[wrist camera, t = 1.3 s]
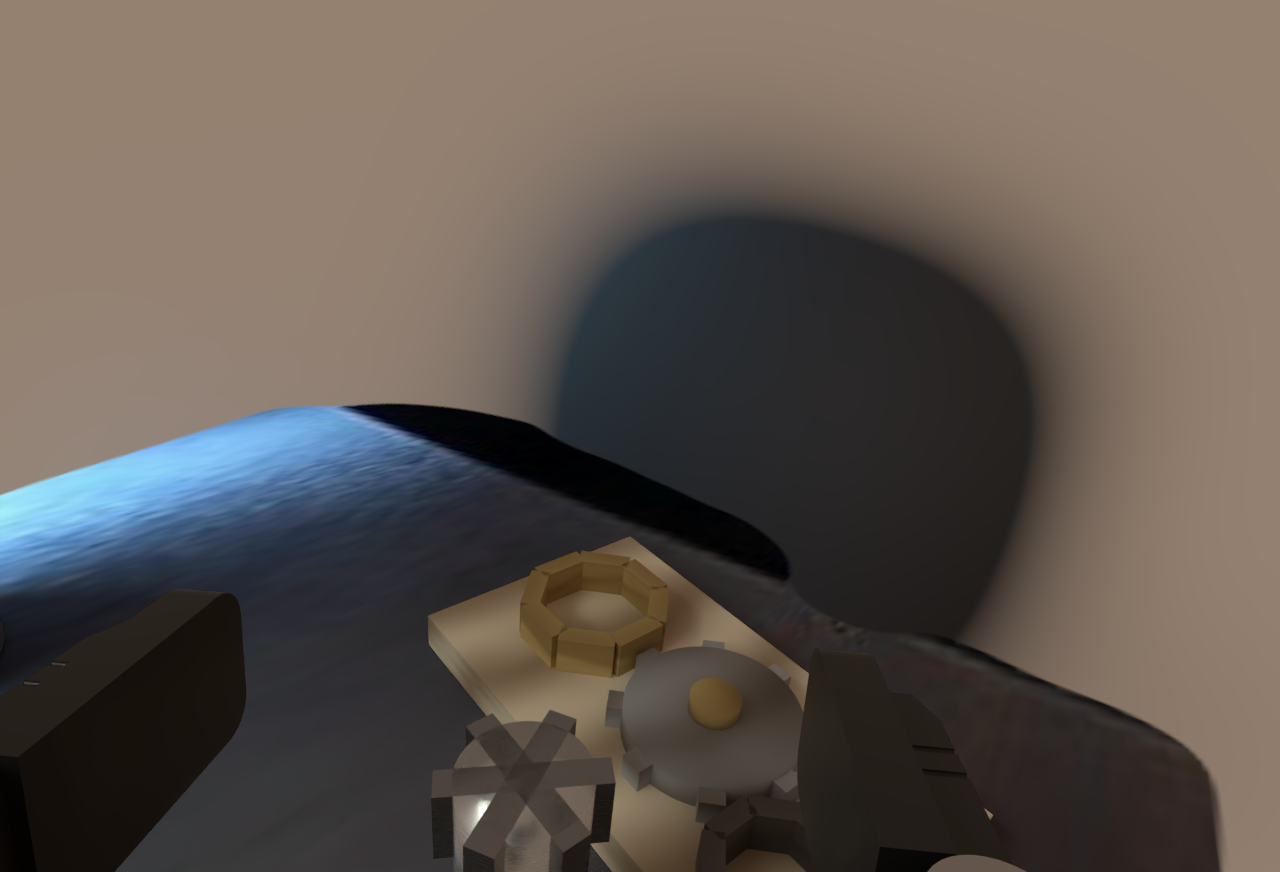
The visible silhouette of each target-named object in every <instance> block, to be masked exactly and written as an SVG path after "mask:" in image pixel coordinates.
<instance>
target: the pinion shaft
mask: <svg viewBox="0 0 1280 872" xmlns="http://www.w3.org/2000/svg"><path fill="white" fill-rule="evenodd" d="M576 720H577V719H575V718H572V717H569V716H567V715H564V714H561V713H558V712H555V711H553V710H549V711H548V713H547V715H546V716H545V718H544V719H543V721H542V722H536V721H519V722H512V723H507V724H503V725H502V724H501V723H500V721H499V720H498V719H497V718H496V716H495V715H494V714H493V713H492V714H490V715H488V716H486V717H484V718H482V719H480V720H478V721H476V722H474V723H472V724H470V725H468V726H466V748H465V749H464V750H463V752H462V753H461V755H460V756H459V758H458V759H457V762H456V764H455V766H454V769H444V770H433V779H432V793H431V807H432V833H433V859H437V858H448V857H453V872H588V865H589V855H590V844H592V843H603V842H609V839H610V830H611V821H612V813H613V804H614V795H615V786H616V781H615V775H614V769H613V763H612V758H611V757H603V758H592V756H591V755H590V753H589V751H588V749H587V748H586V747H585V746H584V744H583V743H582V742H581V741H580V740H579V739H578V738H576V737H575V733H576Z"/></svg>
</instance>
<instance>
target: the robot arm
mask: <svg viewBox="0 0 1280 872" xmlns="http://www.w3.org/2000/svg"><path fill="white" fill-rule="evenodd" d="M4 639H5V636H4V631H3V627H2V624H1V621H0V653H1V651H2V648H3V644H4ZM245 702H246V681H245V668H244V654H243V640H242V626H241V613H240V607H239V603H238V601H237V599H236V598H235V596H234V595H232V594H230V593H222V592H211V591H200V590H190V589H172V590H170V591H168V592H167V593H165V594H164V595H162V596H161V597H160V598H158V599H157V600H155V601H154V602H153V603H151V604H150V605H148V606H147V607H146V608H144V609H143V610H141V611H140V612H139V613H137V614H136V615H134V616H133V617H132V618H130V619H129V620H127V621H124V622H122V623H120V624H117V625H115V626H112V627H110V628H108V629H105V630H103V631H101V632H98V633H96V634H93V635H91V636H89V637H86V638H84V639H83V640H81V641H80V642H79V643H77V644H76V645H74V646H73V647H71V648H70V649H68V650H67V651H66V652H64V653H63V654H61V655H60V656H58V657H57V658H56V659H54V660H53V661H52V664H51V666H46V665H45V666H44V667H43V668H41V669H40V670H38V671H37V672H35V673H34V674H32V675H31V676H30V677H28V678H27V679H25V682H24V684H23V685H17V686H15V687H14V688H12V689H11V690H9V691H8V692H7V693H5V694H4V695H2V696H1V697H0V872H115V871H116V870H117V868H118V867H119V866H120V865H121V864H122V863H123V862H124V860H125V859H126V858H127V857H128V856H129V855H130V854H131V852H132V851H133V850H134V849H135V848H136V847H137V846H138V844H139V843H140V842H141V841H142V840H143V839H144V838H145V836H146V835H147V834H148V833H149V832H150V831H151V830H152V829H153V827H154V826H155V825H156V824H157V823H158V822H159V821H160V819H161V818H162V817H163V816H164V815H165V814H166V813H167V811H168V810H169V809H170V808H171V807H172V806H173V805H174V803H175V802H176V801H177V800H178V799H179V798H180V797H181V796H182V794H183V793H184V792H185V791H186V790H187V789H188V788H189V786H190V785H191V784H192V783H193V782H194V781H195V780H196V778H197V777H198V776H199V775H200V774H201V773H202V772H203V770H204V769H205V768H206V767H207V766H208V765H209V764H210V763H211V761H212V760H213V759H214V758H215V757H216V756H217V755H218V753H219V752H220V751H221V750H222V749H223V748H224V747H225V745H226V744H227V743H228V742H229V741H230V740H231V738H232V737H233V735H234V734H235V732H236V730H237V728H238V726H239V724H240V721H241V719H242V715H243V712H244V708H245ZM966 774H967V773H966V771H965V769H964V767H963V765H962V763H961V761H960V759H959V757H958V755H955V754H954V747H953V745H952V743H951V741H950V739H949V737H948V735H947V733H946V731H945V729H944V727H943V725H942V723H941V721H940V720H939V719H938V718H937V717H936V716H935V715H934V714H932V713H931V712H930V711H929V710H928V709H927V708H926V707H925V706H924V705H923V704H921V703H920V702H919V701H918V700H917V699H916V698H915V697H914V696H913V695H909V694H898V693H889V691H888V688H887V686H886V684H885V681H884V679H883V677H882V674H881V672H880V670H879V667H878V665H877V663H876V660H875V658H874V656H873V655H872V654H871V653H864V652H853V651H842V650H831V649H820V648H816V649H815V650H814V652H813V655H812V659H811V664H810V670H809V677H808V684H807V691H806V698H805V705H804V712H803V719H802V726H801V733H800V740H799V747H798V760H797V782H798V794H799V800H800V805H801V810H802V816H803V821H804V826H805V831H806V836H807V841H808V847H809V852H810V857H811V862H812V867H813V872H1026V871H1024V870H1022V869H1020V868H1018V867H1016V866H1014V865H1013V864H1012V862H1011V860H1010V858H1009V856H1008V854H1007V852H1006V850H1005V848H1004V846H1003V844H1002V842H1001V840H1000V838H999V836H998V834H997V832H996V830H995V829H994V827H993V825H992V823H991V821H990V819H989V817H988V815H987V813H986V811H985V809H984V807H983V805H982V803H981V801H980V799H979V797H978V795H977V793H976V791H975V789H974V787H973V785H972V783H971V781H970V779H967V777H966Z"/></svg>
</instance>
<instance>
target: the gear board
mask: <svg viewBox="0 0 1280 872" xmlns="http://www.w3.org/2000/svg"><path fill="white" fill-rule="evenodd" d="M428 635H429V645H430V647H431V648H432V649H433V650H434V652H435V653H436V654H437V655H438V656H439V658H440V659H441V660H442V661H443V663H444V664H445V665H446V666H447V668H448V669H449V670H450V671H451V673H452V674H453V675H454V676H455V678H456V679H457V680H458V681H459V682H460V684H461V685H462V686H463V687H464V689H465V690H466V691H467V692H468V694H469V695H470V696H471V697H472V699H473V700H474V701H475V702H476V704H477V705H478V706H479V707H480V709H481V710H482V711H483V712H484V713H485V715H486V716H488V715H490V714H492V713H493V714H494V715H495V716H496V718H497V719H498V720H499V721H500V723H501V724H502V725H503V724H507V723H512V722H519V721H536V722H542V721H543V719H544V718H545V716H546V715H547V713H548V711H549V710H553V711H555V712H558V713H561V714H564V715H567V716H569V717H572V718H575V719H577V720H576V733H575V737H576V738H578V739H579V740H580V741H581V742H582V743H583V744H584V746H585V747H586V748H587V749H588V751H589V753H590V755H591V756H592V758H603V757H611V758H612V763H613V769H614V775H615V781H616V786H615V795H614V804H613V813H612V821H611V830H610V839H609V842H603V843H592V844H590V845H591V846H592V847H593V848H594V850H595V851H596V852H597V853H598V855H599V856H600V857H601V858H602V860H603V861H604V862H605V863H606V865H607V866H608V867H609V868H610V869H611V871H612V872H813V867H812V862H811V857H810V852H809V847H808V841H807V836H806V831H805V826H804V821H803V816H802V810H801V805H800V800H799V794H798V782H797V760H798V747H799V740H800V733H801V726H802V719H803V712H804V705H805V698H806V691H807V684H808V677H809V673H807V672H806V671H805V670H804V669H802V668H801V667H800V666H798V665H797V664H796V663H794V662H793V661H792V660H790V659H789V658H788V657H787V656H785V655H784V654H783V653H781V652H780V651H779V650H777V649H776V648H775V647H774V646H772V645H771V644H770V643H768V642H767V641H766V640H764V639H763V638H762V637H760V636H759V635H758V634H757V633H755V632H754V631H753V630H751V629H750V628H749V627H747V626H746V625H745V624H744V623H742V622H741V621H740V620H738V619H737V618H736V617H734V616H733V615H732V614H730V613H729V612H728V611H727V610H725V609H724V608H723V607H721V606H720V605H719V604H717V603H716V602H715V601H714V600H712V599H711V598H710V597H708V596H707V595H706V594H704V593H703V592H702V591H701V590H699V589H698V588H697V587H695V586H694V585H693V584H691V583H690V582H689V581H687V580H686V579H685V578H684V577H682V576H681V575H680V574H678V573H677V572H676V571H674V570H673V569H672V568H671V567H669V566H668V565H667V564H665V563H664V562H663V561H661V560H660V559H659V558H657V557H656V556H655V555H654V554H652V553H651V552H650V551H648V550H647V549H646V548H644V547H643V546H642V545H641V544H639V543H638V542H637V541H635V540H634V539H633V538H631V537H627V538H625V539H622V540H620V541H617V542H615V543H612V544H609V545H607V546H604V547H602V548H599V549H597V550H594V551H592V552H587V551H582V552H581V555H580V554H579V553H578V552H577V551H576V552H573V553H571V554H568V555H565V556H563V557H560V558H558V559H555V560H553V561H550V562H547V563H545V564H542V565H540V566H537V567H535V571H534V570H532V571H531V574H530V576H528V577H525V578H523V579H520V580H518V581H515V582H513V583H510V584H507V585H505V586H502V587H500V588H497V589H495V590H492V591H490V592H487V593H484V594H482V595H479V596H477V597H474V598H472V599H469V600H467V601H464V602H461V603H459V604H456V605H454V606H451V607H449V608H446V609H444V610H441V611H438V612H436V613H433V614H431V615H428ZM984 809H985V808H984ZM985 811H986V813H987V815H988V817H989V819H990V821H991V819H992V817H993V814H991V813H990V812H989V811H987V810H986V809H985Z"/></svg>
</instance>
